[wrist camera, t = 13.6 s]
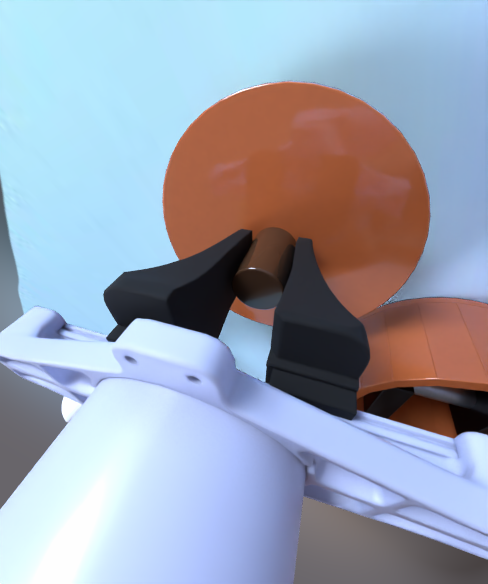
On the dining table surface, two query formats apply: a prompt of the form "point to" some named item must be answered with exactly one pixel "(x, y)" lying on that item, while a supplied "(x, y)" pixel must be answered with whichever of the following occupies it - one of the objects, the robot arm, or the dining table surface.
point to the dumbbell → (462, 402)
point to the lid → (300, 193)
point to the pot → (426, 355)
